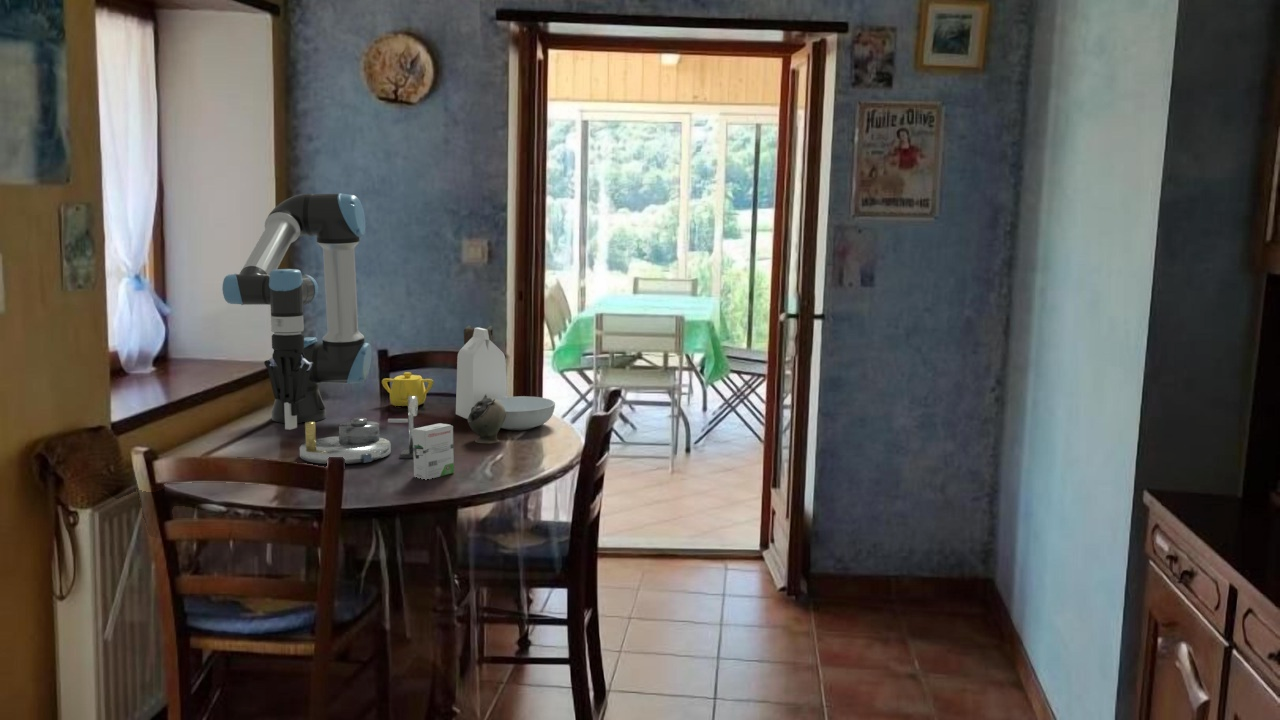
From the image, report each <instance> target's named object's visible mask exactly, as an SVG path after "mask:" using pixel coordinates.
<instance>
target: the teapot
mask: <svg viewBox="0 0 1280 720" xmlns="http://www.w3.org/2000/svg"><path fill="white" fill-rule="evenodd" d="M389 382H392V384H391V387H389V385H388V383H389ZM425 383H427V387H425ZM381 384H382V386H383V388H384V389H385V390H386V391H387V393H389V401H390V404H391V406H395V407H396V406H402V407H408V397H409V396H417V400H418V406H421V405H422V404H424V403H425V401H426V398H427V393H428V392H430V390H431V389H432V387H433V386H434V380H433V379H432V378H425V379H424V378H423V377H422V376H421V375H419V374H418V375H417V374H412V372H409V371H407V372H406V371H405V372H403V375H397V376H395V377H394V378H383V379H382V380H381Z"/></svg>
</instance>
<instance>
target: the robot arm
mask: <svg viewBox="0 0 1280 720" xmlns="http://www.w3.org/2000/svg"><path fill="white" fill-rule="evenodd" d="M361 202H362V201H361V200H360V198H358V197H357V196H356V195H354V194H348V193H347V194H346V193H301V194H296V195H293V196H291V197H289V198H286V199H285V200H283V201H281V202H280V203H279V204H278V205H276V206H275V207H274V208H273V209H272V210H271V212H269V214H268V215H267V217H266V219H265V221H264V231H263V232H262V234H261V236H260V237H259V238H258V241H257V243H256V244H255V247H254V248H253V250H252V251H251V254H250V255H249V257H248V258H247V260H246V262H245V264H244V266H243V267H242V269H241V270H240V272H239V274H237V273H233V274H232V273H231V274H227V275H226V276H224V278H223V281H222V286H221V287H222V289H221V290H222V294H223V298H224V300H225V302H227V303H228V304H230V305H241V306H244V305H246V306H247V305H248V306H249V305H250V306H251V305H260V306H261V305H262V306H263V305H269V306H270V325H271V332H272V334H271V349H272V350H273V352H272V357H271V358H269V359H266V360H265V361H264V362H263V364H264V366H265V368H266V370H267V372H268V376H269V379H270V386H271V389H272V393H273V397H274V403H273V406H272V410H271V421H272V422H276V423H280V424H282V423H283V424H284V430H294V429H297V428H298V424H303V423H302V422H318V421H322V420H324V419H326V418H327V410H326V406H325V403H324V401H323V398H322V396H321V393H320V385H319V384H347V385H350V384H360V383H363V382H364V381H365V380H366V379H367V377H368V376H369V373H370V370H371V363H372V354H373V353H372V351H373V350H372V345H371V344H370V343H368V342H365V336H364V334H363V333H361V332H360V330H359V317H358V314H359V313H358V297H357V295H358V294H357V275H356V256H355V255H356V253H355V251H356V250H355V248H356V247H357V246H358V244H359V243H360V241H361V240H360V238H361V237H363V236H364V235H365V233H366V230H367V229H366V224H367V223H366V215H365V211H364V207H363V205H362V203H361ZM303 236H311V237H314V236H315V237H316V244H317V245H319V246H320V247H321V248H322V254H323V257H322V258H323V274H324V275H323V276H324V290H325V291H324V292H325V294H324V295H325V309H326V310H325V311H326V324H327V326H326V327H327V328H326V329H327V330H326V331H327V332H326V334H324V336H322V342H318V338H317V337H312V336H308V337H306V336H305V334H303V333H302V332H304V331H305V327H304V326H305V325H304V324H305V321H304V305H307V304H310V303H311V302H312V301H315V299H316V298H317V296H318V294H319V284H318V283H317V281H316V279H315V278H314V277H313V276H311V275H309V274H305V273H302V271H301V270H300V269H296V268H281V269H279V267H280V265H281V263H282V261H283V259H284V258H285V255H286V253H287V251H288V250H289V247H290V246H291V244H292V243H294V242H296V241H297V240H298V238H300V237H303Z"/></svg>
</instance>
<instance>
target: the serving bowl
mask: <svg viewBox="0 0 1280 720" xmlns="http://www.w3.org/2000/svg"><path fill="white" fill-rule="evenodd" d="M495 400H497V401H499V402H500V403H501V404H502V405H503V406H504V408H505V411H506V418H505V420H504V422H503V424H502V426H501V428H500V429H504V430H508V431H525V430H531V429H533V428H535V427H539V426H542V425H544V424H546V423H547V422H548V421H549V420H551V418H552V416H553V414H554V412H555V408H556V407H555V406H556V402H555V401H554V400H552V399H549V398H546V397H541V396H527V395H526V396H525V395H523V396H522V395H521V396H508V397H503V398H496V399H495Z"/></svg>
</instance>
